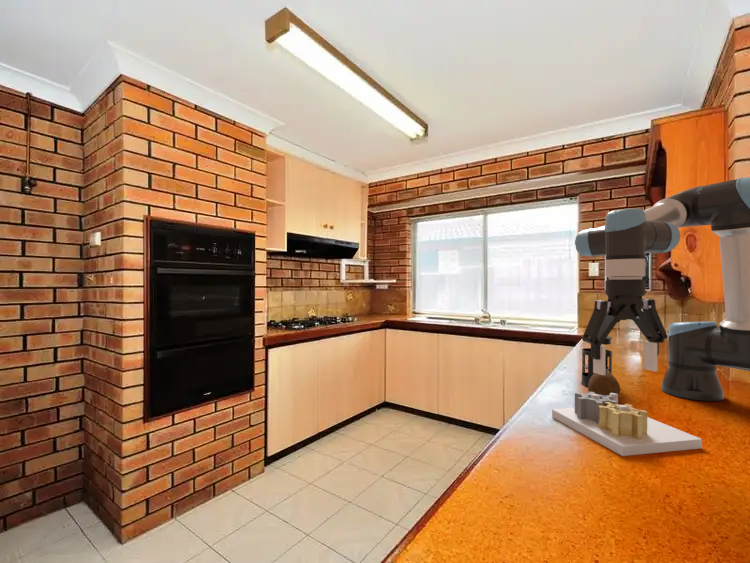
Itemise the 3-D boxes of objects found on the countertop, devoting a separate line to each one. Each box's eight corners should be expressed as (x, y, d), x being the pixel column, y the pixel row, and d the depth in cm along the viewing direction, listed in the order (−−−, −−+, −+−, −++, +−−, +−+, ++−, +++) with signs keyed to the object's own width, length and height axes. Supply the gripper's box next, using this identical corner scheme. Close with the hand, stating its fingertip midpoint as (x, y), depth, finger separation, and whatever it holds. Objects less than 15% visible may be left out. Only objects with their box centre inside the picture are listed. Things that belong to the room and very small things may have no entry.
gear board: (617, 412, 102) (617, 384, 101) (701, 448, 80) (702, 413, 80) (552, 416, 98) (552, 388, 98) (622, 456, 76) (622, 419, 76)
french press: (604, 391, 121) (605, 320, 120) (574, 384, 128) (575, 318, 128) (619, 385, 127) (620, 318, 127) (590, 379, 135) (591, 316, 135)
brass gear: (608, 420, 90) (608, 399, 90) (650, 431, 84) (651, 409, 84) (593, 430, 84) (593, 408, 84) (638, 442, 78) (638, 419, 78)
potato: (623, 398, 114) (624, 369, 114) (617, 408, 105) (617, 377, 105) (592, 392, 120) (592, 365, 119) (584, 401, 111) (584, 372, 110)
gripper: (655, 277, 90) (656, 364, 90) (564, 279, 85) (565, 371, 86) (687, 277, 83) (687, 372, 83) (589, 279, 78) (589, 379, 78)
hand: (625, 372), depth 84 cm, fingers open, 13 cm apart
